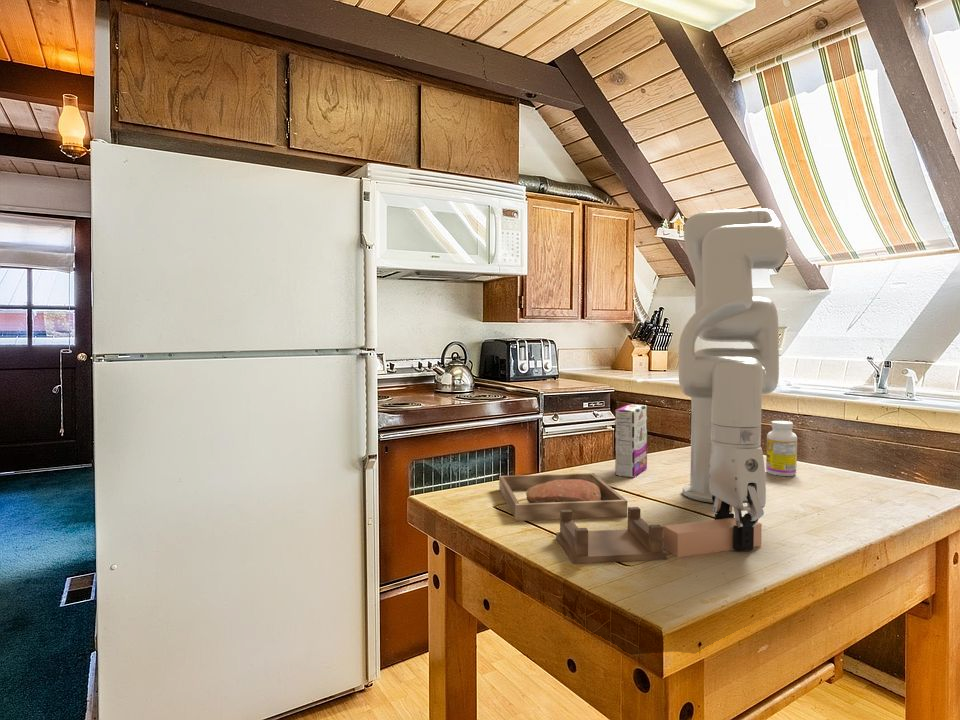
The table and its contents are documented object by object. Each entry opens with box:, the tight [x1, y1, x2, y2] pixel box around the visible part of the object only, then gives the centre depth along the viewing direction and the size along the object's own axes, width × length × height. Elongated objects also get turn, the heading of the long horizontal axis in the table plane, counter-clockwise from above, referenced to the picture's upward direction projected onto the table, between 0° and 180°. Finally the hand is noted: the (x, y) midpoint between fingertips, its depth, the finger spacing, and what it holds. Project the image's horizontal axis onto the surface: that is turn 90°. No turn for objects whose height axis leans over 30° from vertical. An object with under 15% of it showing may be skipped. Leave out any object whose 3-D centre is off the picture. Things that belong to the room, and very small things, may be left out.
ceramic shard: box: [525, 479, 602, 503], centre depth 121 cm, size 15×6×15 cm
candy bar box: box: [614, 403, 648, 479], centre depth 146 cm, size 11×5×16 cm, turn 148°
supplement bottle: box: [765, 420, 798, 477], centre depth 144 cm, size 7×7×13 cm
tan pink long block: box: [662, 517, 763, 558], centre depth 97 cm, size 16×4×4 cm, turn 106°
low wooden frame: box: [498, 472, 628, 522], centre depth 122 cm, size 22×22×3 cm
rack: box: [555, 506, 668, 565], centre depth 96 cm, size 15×11×5 cm
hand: (733, 542), depth 98 cm, fingers open, 5 cm apart
